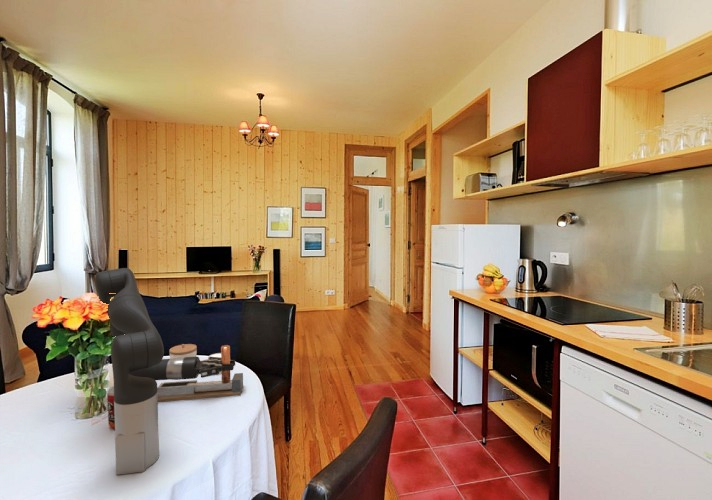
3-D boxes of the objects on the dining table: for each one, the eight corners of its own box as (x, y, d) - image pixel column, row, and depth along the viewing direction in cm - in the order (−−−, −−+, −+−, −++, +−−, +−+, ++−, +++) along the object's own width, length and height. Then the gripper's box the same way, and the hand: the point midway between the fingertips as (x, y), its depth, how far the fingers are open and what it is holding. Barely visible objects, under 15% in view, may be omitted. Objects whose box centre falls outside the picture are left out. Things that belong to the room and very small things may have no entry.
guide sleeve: (193, 394, 119) (193, 385, 119) (157, 397, 117) (156, 388, 117) (197, 388, 124) (197, 380, 124) (162, 391, 122) (161, 382, 121)
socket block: (240, 392, 122) (240, 379, 121) (231, 392, 121) (231, 380, 121) (243, 384, 127) (242, 373, 127) (234, 385, 127) (234, 373, 127)
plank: (240, 395, 121) (240, 392, 121) (155, 402, 116) (155, 399, 116) (243, 386, 128) (243, 384, 128) (163, 392, 123) (162, 390, 123)
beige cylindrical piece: (208, 370, 143) (207, 354, 142) (225, 367, 145) (225, 351, 145) (208, 376, 136) (208, 359, 136) (226, 373, 139) (226, 357, 139)
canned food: (103, 425, 102) (101, 390, 101) (131, 413, 109) (130, 379, 109) (117, 432, 99) (116, 396, 98) (145, 419, 106) (144, 385, 105)
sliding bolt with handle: (239, 388, 123) (238, 347, 122) (186, 393, 120) (185, 350, 119) (240, 385, 126) (239, 344, 125) (188, 389, 122) (187, 347, 122)
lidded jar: (202, 361, 152) (201, 341, 152) (187, 371, 142) (186, 349, 141) (180, 360, 154) (179, 339, 153) (163, 369, 143) (163, 347, 143)
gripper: (176, 365, 113) (230, 362, 116) (189, 350, 127) (237, 348, 130) (177, 387, 114) (231, 383, 117) (189, 370, 127) (237, 367, 131)
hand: (234, 364), depth 124 cm, fingers closed on sliding bolt with handle, 3 cm apart
